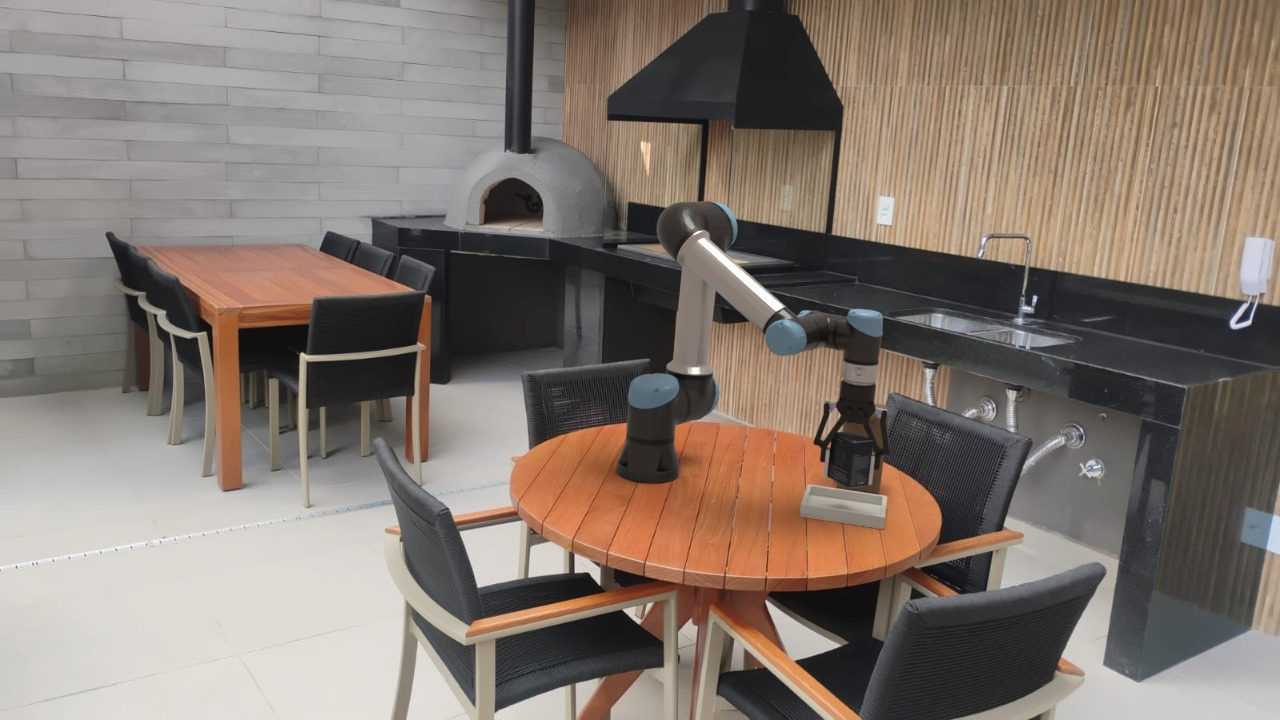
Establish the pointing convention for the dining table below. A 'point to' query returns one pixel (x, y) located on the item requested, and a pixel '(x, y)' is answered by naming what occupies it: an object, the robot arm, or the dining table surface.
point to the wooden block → (877, 431)
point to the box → (850, 459)
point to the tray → (844, 506)
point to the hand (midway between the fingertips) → (847, 479)
